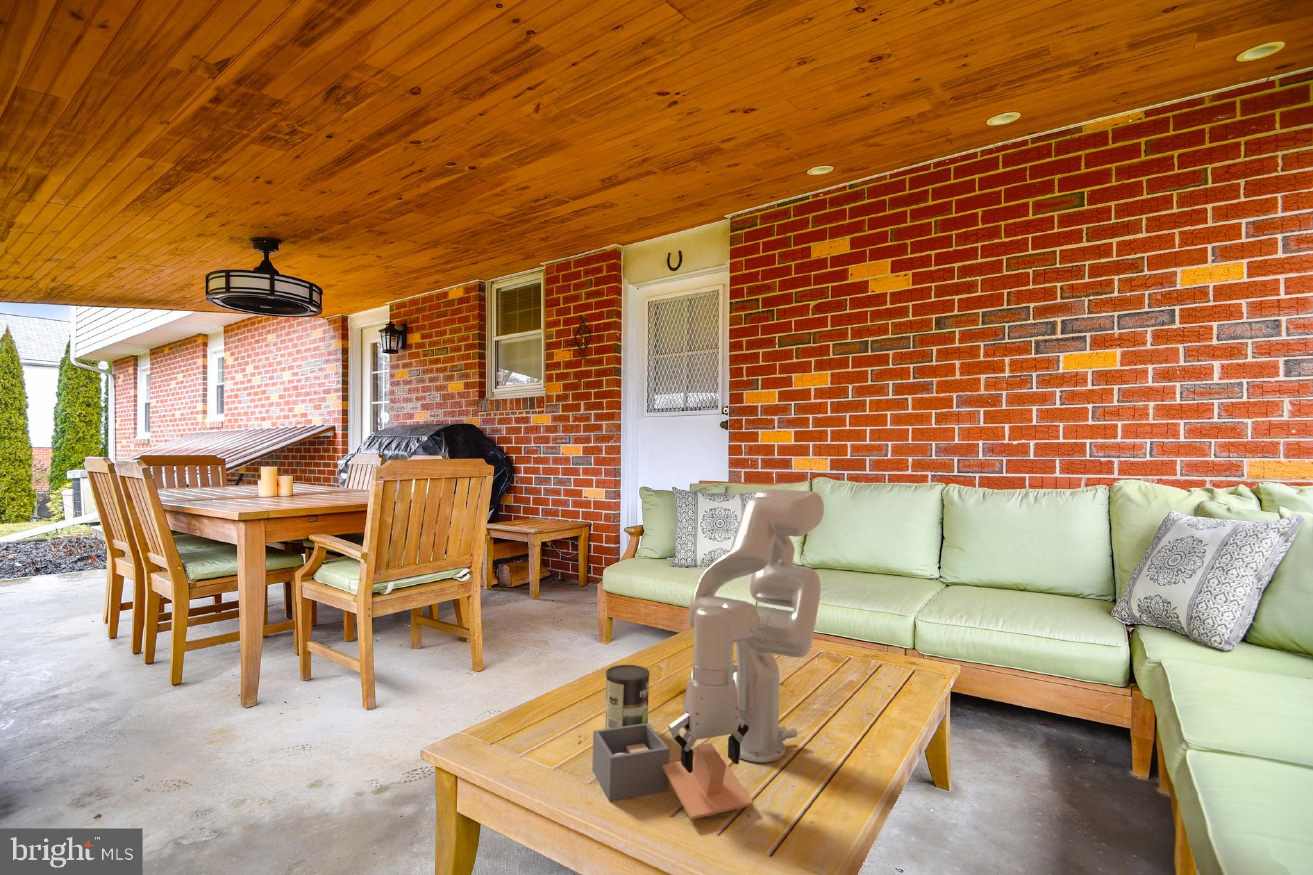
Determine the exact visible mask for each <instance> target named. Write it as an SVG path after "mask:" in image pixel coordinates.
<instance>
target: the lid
mask: <svg viewBox="0 0 1313 875" xmlns="http://www.w3.org/2000/svg"><path fill="white" fill-rule="evenodd" d="M662 768H663V770H664V772H665V774H666V775H667V777H668V779H669V782H670V783H669V784H670V785H671V787H672V788H673V790H674V792H675V794H676V795H677V797H678V799H679V802H680V803H681V804H682V807H683V808H684V810H685V812H686V814H687V816H688V818H689V819H690V820H696V819H700V818H703V817H708V816H711V815H713V814H717V813H721V812H726V811H730V810H734V809H737V810H738V809H743V808H746V807H751V806H753V805H754V801H753V800H752V798H751V797H750V795H749V794H748V791H746V790H745V788H744V786H743V785H742V783H741V782H740V781H739V780H738V778H737V776H736V775H735V774H734V772H733V771H732V769H731V767H730V766H729V765H728V763H727V762H726V760H725V758H724V757H723V756H722V754H721V753H720V752H718V751H717V749H716V748H715V747H714V745H713V744H712V743H711V742H709V743H708V742H707V743H702V744H697V745H696V751H695V756H694V757H693V771H692V772H691V773H688V771H687V770H686V769H685V768H684V767H683V766H682V764H681V760H678V761H673V762H669V763H667V764H662Z"/></svg>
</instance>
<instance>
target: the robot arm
mask: <svg viewBox="0 0 1313 875" xmlns="http://www.w3.org/2000/svg"><path fill="white" fill-rule="evenodd" d="M824 512H825V505H824V500H823V498H822V497H821V495H820V494H819V493H818V492H815V491H811V490H793V489H774V488H773V489H770V488H768V489H762V490H760V491H757V492H756V493H754V495H753V497H752V498H751V499H749V500H748V501H747V502H746V504H745V506H744V507H743V511H742V514H741V517H740V519H739V523H738V526H737V528H736V531H735V535H734V538H733V540H732V543H731V547H730V549H729V551H727V552H726V553H725V554H723V555H721V556H720V557H719V558H717V559H716V560H715V561H714V562H713V563H712V564H711V565H709V566H708V567H707V568H706V569H705V570H704V572H703V573H702V574H701V575H700V577H699V579H698V580H697V583H696V586H695V589H694V590H693V591H694V592H693V593H692V594H693V595H692V597H691V599H690V603H689V608H688V622H689V624H690V626H691V627H692V629H693V660H692V661H693V664H692V678H689V679H688V681H687V685H686V691H685V696H684V702H683V703H684V704H683V713H682V715H681V716H680V717H678V718H677V719H675V720H674V721H672V722H671V723H670V724H669V725H668V727H667V728H668V730H669V731H670V734H671V736H672V739H673V740H674V741H675V742H676V743H677V744H678V745H679V746H680V752H681V753H680V761H681V764H682V766H683V767H684V768H685V769H686V770H687V771H688V773H691V772H692V771H693V758H694V751H693V749H692V747H693V746H694V744H695V743H696V741H697V740H703V739H711V738H716V737H718V738H719V737H723V736H728V740H727V742H728V744H727V758H728V759H729V760H730V761H731V762H732V763H733V764H734V765H739V763H740V759H742V760H745V761H749V762H753V763H763V764H764V763H770V762H771V763H772V762H777V761H778V760H780V759H782V758H783V757H784V756H785V754H786V746H785V744H784V741H786V740H787V739H794V738H797V737H798V731H797V729H796V727H795V728H786V726H785V725H779V722H780V720H779V714H780V678H781V676H780V668H779V666H778V663H777V661H776V659H775V657H774V655H773V654H775V655H780V656H784V657H785V656H786V657H791V658H798V659H799V658H801V659H802V658H804V657H806V656H807V655H808V654H809V652H810V650H811V647H812V644H813V639H814V635H815V634H814V633H815V628H816V621H817V617H818V611H819V605H820V600H821V580H820V577H819V574H818V573H817V571H815V569H813V568H810V567H807V566H801V565H793V563H794V562H793V561H794V557H795V553H796V552H795V551H796V548H795V545H794V542H793V541H792V539H791V537H803V536H806V535H807V534H808V533H810V532H811V531H813V530H814V529H816V528H817V527H818V526H819V525H820V523H821V522H822V520H823V517H824ZM748 575H751V579H750V584H749V585H750V586H749V592H750V595H751V597H752V598H753V599H754V600H755V601H757V602H758V603H761V604H766V605H772V606H777V607H784V608H785V607H786V608H790V609H791V608H792V609H793V610H786V609H781V608H775V607H768V606H761V605H755V604H753V603H751V602H749V601H746V600H740V599H733V598H729V597H722V596H715V595H716V593H717V592H718V591H719V589H721V587H722V586H724V585H725V584H728V583H729V582H731V581H733V580H735V579H736V580H737V579H739V578H743V577H745V576H748ZM734 643H735V652H736V664H734ZM735 673H736V677H735V678H736V681H735V679H734V674H735ZM682 728H683V730H685V731H684V733H683V734H682V736H681V734H680V730H681V729H682Z"/></svg>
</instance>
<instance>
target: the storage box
mask: <svg viewBox="0 0 1313 875" xmlns="http://www.w3.org/2000/svg"><path fill="white" fill-rule="evenodd" d="M592 737H593V738H592V740H593V741H592V768H591V769H592V773H593V774H594V776H595V778H596V780H597V782H598V783H599V785H600V787H601V788H602V790H603V792H604V794H605V797H606V798H607V800H608V802H609V801H611V802H615V801H614V800H616V801H621V800H626V799H630V798H631V799H632V798H636V797H641V796H647V795H652V794H656V793H662V792H667V791H668V792H669V786H670V783H669V782H670V781H669V779H668V777H667V775H666V774H665V772H664V770H663V768H662V764H667V763H670V748H669V746H668V745H667V744H666V743H665V742H664V740H663V739H662V738H661V736H660V735H659V734H658V733H657V732H656V730H655V729H654V728H653V727H652V726H651V725H650V724H649V722H648V723H643V724H636V725H630V726H623V727H616V728H609V729H605V728H603V729H597V730H593V734H592Z"/></svg>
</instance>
